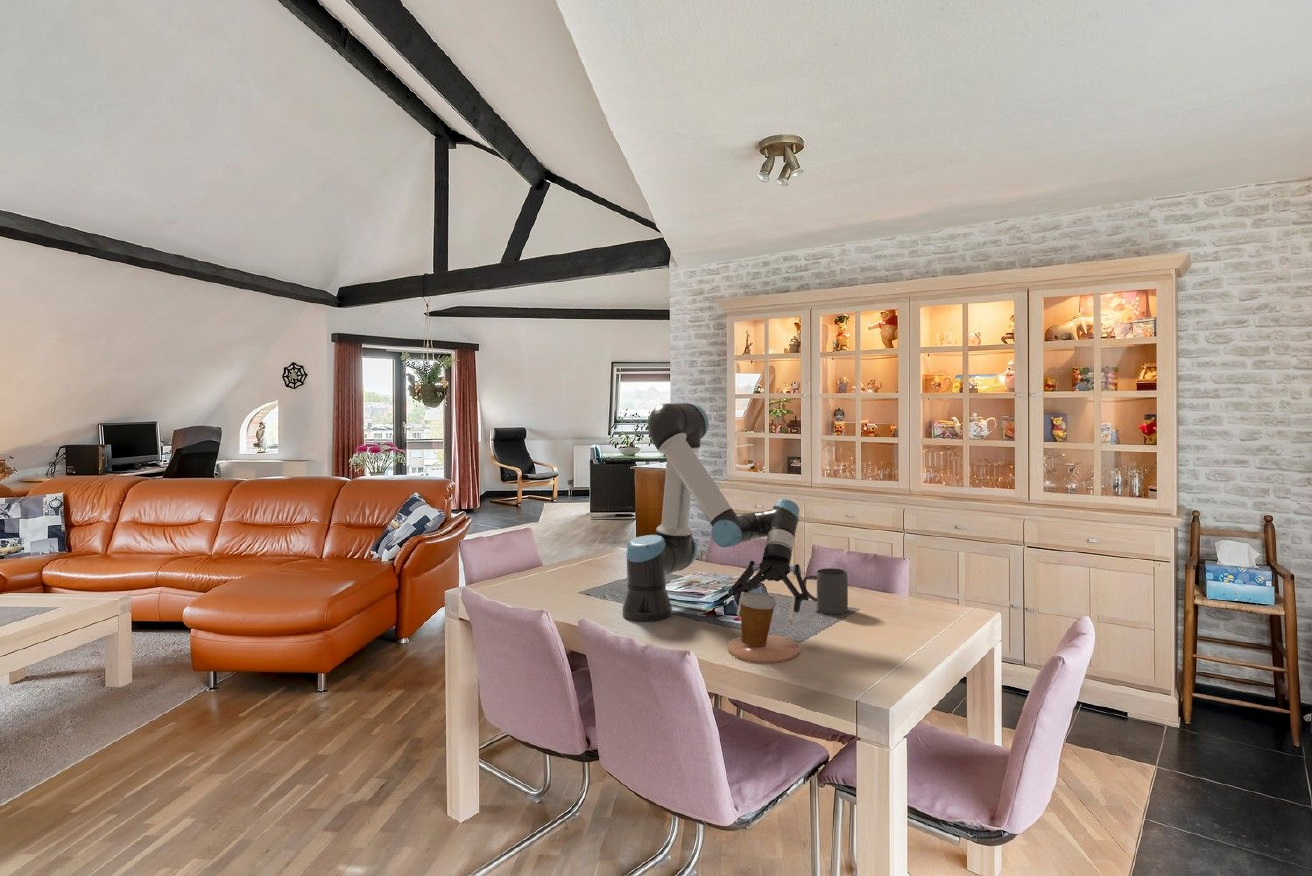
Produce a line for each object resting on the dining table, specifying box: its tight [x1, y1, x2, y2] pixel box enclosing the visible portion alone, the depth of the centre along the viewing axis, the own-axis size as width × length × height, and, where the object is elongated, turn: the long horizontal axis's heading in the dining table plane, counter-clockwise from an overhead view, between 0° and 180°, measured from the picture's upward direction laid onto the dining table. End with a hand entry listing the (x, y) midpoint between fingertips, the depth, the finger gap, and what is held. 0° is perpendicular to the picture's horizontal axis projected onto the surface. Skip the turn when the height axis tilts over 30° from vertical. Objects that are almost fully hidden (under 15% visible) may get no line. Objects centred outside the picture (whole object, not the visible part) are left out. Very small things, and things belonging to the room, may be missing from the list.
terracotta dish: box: [727, 634, 800, 664], centre depth 174 cm, size 18×18×1 cm
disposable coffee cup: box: [739, 591, 777, 646], centre depth 176 cm, size 10×10×12 cm
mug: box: [802, 567, 849, 615], centre depth 209 cm, size 14×9×12 cm
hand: (764, 619), depth 175 cm, fingers open, 13 cm apart
